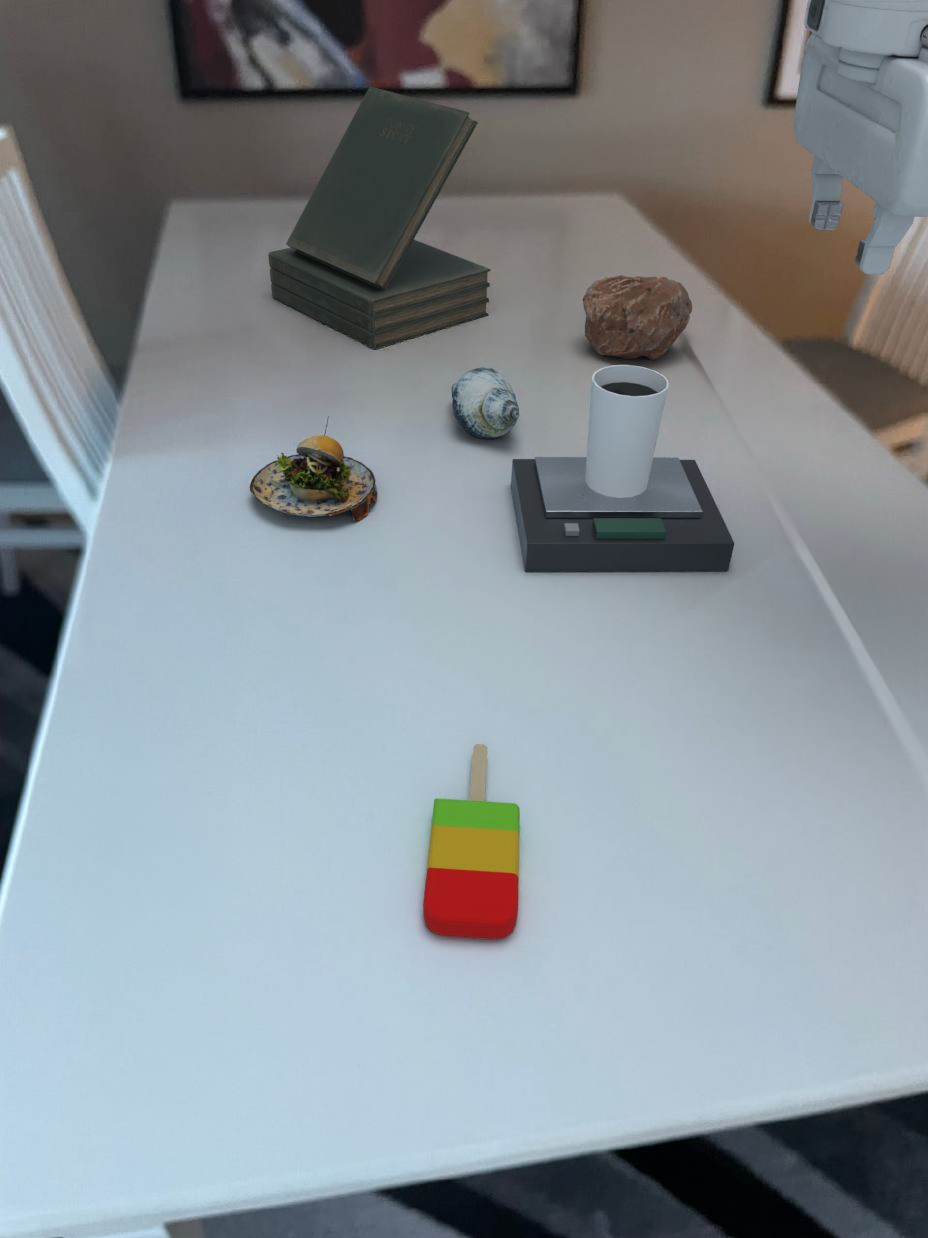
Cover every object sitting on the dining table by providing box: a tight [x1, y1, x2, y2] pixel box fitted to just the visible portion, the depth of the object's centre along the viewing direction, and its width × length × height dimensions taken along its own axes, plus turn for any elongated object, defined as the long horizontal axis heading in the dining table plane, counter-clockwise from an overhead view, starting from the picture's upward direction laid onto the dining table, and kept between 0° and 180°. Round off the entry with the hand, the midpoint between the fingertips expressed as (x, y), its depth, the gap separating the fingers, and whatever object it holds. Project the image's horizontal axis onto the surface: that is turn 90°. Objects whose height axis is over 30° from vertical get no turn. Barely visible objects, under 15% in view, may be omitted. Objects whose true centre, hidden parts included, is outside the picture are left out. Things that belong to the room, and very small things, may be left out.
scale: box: [510, 458, 736, 573], centre depth 92 cm, size 18×15×4 cm
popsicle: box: [422, 743, 521, 940], centre depth 63 cm, size 6×15×2 cm, turn 177°
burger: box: [249, 415, 378, 523], centre depth 93 cm, size 12×12×8 cm
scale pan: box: [533, 456, 702, 518], centre depth 92 cm, size 14×10×1 cm
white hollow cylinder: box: [585, 364, 670, 498], centre depth 89 cm, size 7×7×10 cm
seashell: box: [451, 367, 520, 440], centre depth 107 cm, size 6×8×12 cm
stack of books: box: [268, 86, 491, 350], centre depth 129 cm, size 23×20×25 cm
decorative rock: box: [582, 274, 693, 360], centre depth 123 cm, size 13×11×10 cm
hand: (844, 247), depth 69 cm, fingers open, 8 cm apart
